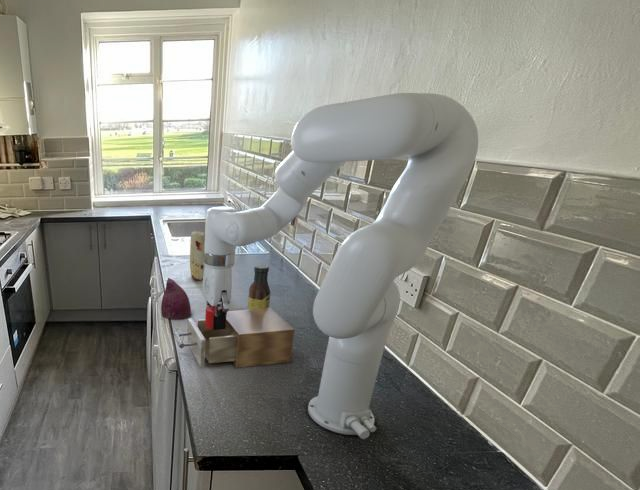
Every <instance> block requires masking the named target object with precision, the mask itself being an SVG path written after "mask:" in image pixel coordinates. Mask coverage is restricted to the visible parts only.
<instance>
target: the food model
mask: <svg viewBox="0 0 640 490" xmlns="http://www.w3.org/2000/svg"><path fill="white" fill-rule="evenodd" d="M204 244H205V231H204V232H203V231H199V230H195V231H192V232H191V234H190V244H189V245H190V246H189V270H190V276H191V279H193V280H194V281H203V273H204V266H205V265H204Z"/></svg>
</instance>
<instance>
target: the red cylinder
mask: <svg viewBox="0 0 640 490" xmlns="http://www.w3.org/2000/svg"><path fill="white" fill-rule="evenodd" d="M206 306H207V305H206ZM221 308H222V306H221V307H218V311H219V309H221ZM214 315H215V306H211V305H208V306H207V307H205V317H204V319H205V326H206V327H208V328H210V329H213V316H214Z"/></svg>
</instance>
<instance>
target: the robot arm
mask: <svg viewBox="0 0 640 490" xmlns="http://www.w3.org/2000/svg"><path fill="white" fill-rule="evenodd" d="M290 141H291V142H290V143H291V148H292V151H291V152H290V153H288V155H287V156H286V157H285V158H284V159H283V160H282V161H281V162H280V163H279V164H278V165H277V167H276V169H275V171H274V179H275V181H276V183H277V186H278V188H277V189H276V191H275V192H274V193H273V194H272V195H271V196H270V198H269V199H267V200H266V201H265V202H264V203H262V205H261V206H260V207H255V208H250V209H246V210H241V211H238V210H237V209H236V208H235V207H231V206H213V207H210V208H208V209H207V211H206V212H205V221H204V233H205V244H204V265H205V266H204V273H203V278H202V286H201V295H202V296H203V298H204V299H205V300H206V302H205V304H206V307H207V306H209V305H211V306H215V315H214V316H213V329H214V330H220V329H225V326H226V316H227V312H228V311H230V307H229V305H230V304H231V301H232V289H233V288H232V287H233V269H232V267H234V266H235V260H236V259H235V258H236V247H245V246H248V245H252V244H255V243H259V242H262V241H265V240H269V239H271V238H273V237H274V236H276V235H277V234H279V233H280V232H281V231H282V230H283V229H284V228H286V227H287V226H288V225H289V224H290V223H291V222H292V221H293V220H294V219H295V218H296V217H297V216H298V215H299V214H300V213H301V211H302V210H303V209H304V206H305V205H306V203H307V202H308V198H309V197H310V196H311V195H312V194H313V193H314V192H316V191H317V190H318V189H319V188H320V187H321V186H322V184H325V182H326V181H327V180H328V179H330V177H332V176H333V175H334V174H335V173H336V172H337V171H338V170H339V169H341V167H343V166H344V165H345V164H346V163H348V162H364V161H384V160H385V161H386V160H395V159H401V158H407V157H408V161H407V163H406V166H405V168H404V170H403V171H402V173H401V175H400V176H399V177H398V179H397V180H396V181H395V184H393V187H392V188H391V190H390V192H389V194H388V196H387V199H386V201H385V203H384V205H383V207H382V209H381V211H380V212H379V214H378V216H377V217H376V219H375V220H374V221H372V223H370V224H367V225H364V226H363V227H360V228H358V229H356V230H354V231H353V232H352V233H350V234H349V235H348V236H347V237H346V238H345V239H344V241H342V243H341V245H339V247H338V249H337V250H336V252H335V254H334V257H333V258H332V260H331V263H330V265H329V267H328V269H327V271H326V273H325V276H324V278H323V281H322V282H321V285H320V287H319V289H318V291H317V294H316V296H315V299H314V302H313V306H312V314H313V315H312V316H313V321H314V323H315V325H316V326H317V328H318V330H320V331H321V332H322V334H324V335H325V336H327V337H328V342H327V346H326V351H325V356H324V362H323V367H322V372H321V377H320V383H319V390H318V394H317V395H316V396H314V397H313V398H311V399H310V401H309V402H308V404H307V413H308V415H309V416H310V418H311V419H312V420H313V421H314V422H315V423H316V424H318V425H319V426H320V427H322V428H324V429H325V430H329V431H330V432H333V433H337V434H340V435H346V436H358V437H359V438H360V439H362V440H364V439H367V438H369V436H370V435H371V433H374V432H376V431H377V426H375V422H376V421H375V420H376V419H375V415H374V414H373V411H372V410H371V409H370V405H371V401H372V397H373V393H374V389H375V385H376V382H377V378H378V375H379V370H380V366H381V362H382V359H383V355H384V351H385V347H386V343H387V340H388V337H389V334H390V332H391V329H392V327H393V324H394V323H395V319H396V317H397V314H398V311H399V308H400V302H401V293H400V290H399V286H398V285H397V283H396V282H395V280H396V279H397V278H398V277H400V276H401V275H404V274H405V273H407V272H408V271H410V270H412V269H413V268H415V266H417V265H418V264H419V262H421V260H422V258H423V257H424V255H425V254H426V252H427V250H428V247H429V245H430V244H431V241H432V240H433V239H434V237H435V235H436V233H437V232H438V230H439V228H440V227H441V225H442V223H443V221H444V220H445V218H446V216H447V215H448V213H449V211H450V209H451V207H452V205H453V204H454V202H455V200H456V198H457V196H458V195H459V193H460V192H461V190H462V189H463V187H464V185H465V182H466V181H467V180H468V177H469V175H470V173H471V171H472V169H473V166H474V164H475V162H476V158H477V155H478V150H479V131H478V128H477V124H476V122H475V119H474V117H473V116H472V115H471V113H470V112H469V110H467V108H465V106H463V105H462V104H461V103H460V102H459V101H458V100H455V99H453V98H452V97H449V96H447V95H443V94H438V93H431V92H429V93H428V92H422V93H421V92H398V93H391V94H384V95H379V96H372V97H367V98H362V99H356V100H350V101H345V102H338V103H337V102H336V103H329V104H323V105H317V106H315V107H313V108H312V109H310V110H308V111H306V112H305V113H304V114H303V115H302V116H301V117H300V118H299V119H298V121H297V122H296V124H295V125H294V127H293V130H292V133H291V140H290ZM220 302H221V303H220ZM221 306H222V308H221V309H219V311H218V307H221ZM206 307H205V308H206Z"/></svg>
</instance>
